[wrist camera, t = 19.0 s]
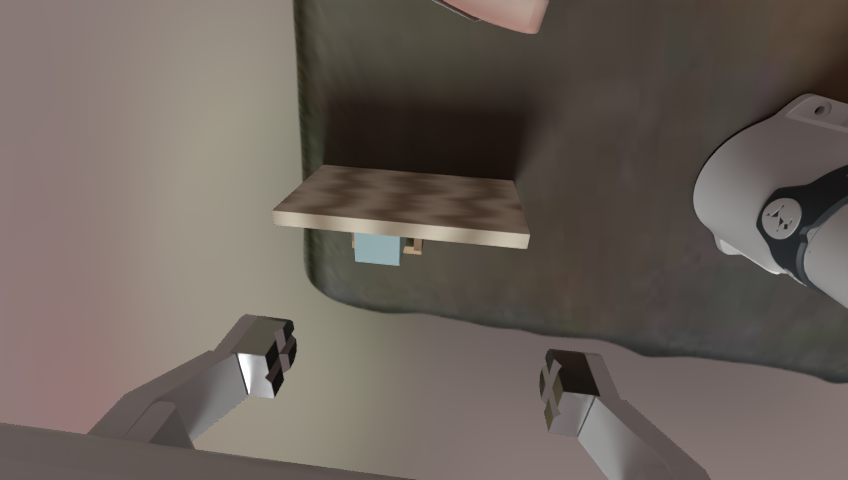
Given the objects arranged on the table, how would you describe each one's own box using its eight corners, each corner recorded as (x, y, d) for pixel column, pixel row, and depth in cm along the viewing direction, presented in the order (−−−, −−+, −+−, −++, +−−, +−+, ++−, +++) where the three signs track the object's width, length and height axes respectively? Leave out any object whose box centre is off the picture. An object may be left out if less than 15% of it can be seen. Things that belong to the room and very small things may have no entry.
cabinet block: (412, 190, 47) (400, 226, 38) (410, 230, 50) (398, 271, 41) (374, 187, 47) (353, 221, 38) (374, 227, 50) (355, 267, 41)
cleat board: (512, 180, 45) (530, 234, 33) (500, 246, 49) (511, 315, 37) (322, 164, 46) (271, 210, 34) (328, 230, 51) (285, 291, 39)
